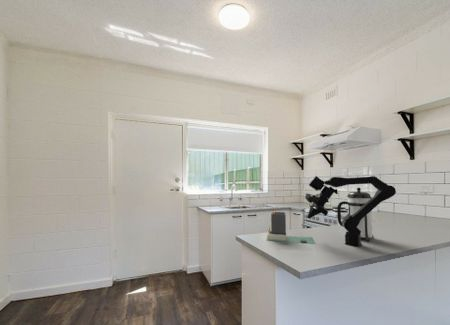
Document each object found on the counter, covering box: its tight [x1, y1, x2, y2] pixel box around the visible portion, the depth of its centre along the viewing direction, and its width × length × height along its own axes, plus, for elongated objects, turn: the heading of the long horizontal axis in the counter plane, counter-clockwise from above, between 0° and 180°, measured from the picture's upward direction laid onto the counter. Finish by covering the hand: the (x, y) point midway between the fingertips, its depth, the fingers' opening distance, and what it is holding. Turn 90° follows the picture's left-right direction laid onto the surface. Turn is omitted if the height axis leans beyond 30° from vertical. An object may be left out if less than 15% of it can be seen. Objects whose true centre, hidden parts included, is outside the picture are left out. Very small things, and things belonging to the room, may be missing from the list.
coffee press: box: [336, 187, 375, 242], centre depth 136 cm, size 17×16×30 cm
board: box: [266, 226, 317, 245], centre depth 130 cm, size 26×14×6 cm, turn 76°
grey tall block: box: [270, 210, 287, 236], centre depth 132 cm, size 8×5×15 cm, turn 76°
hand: (308, 217), depth 129 cm, fingers closed
